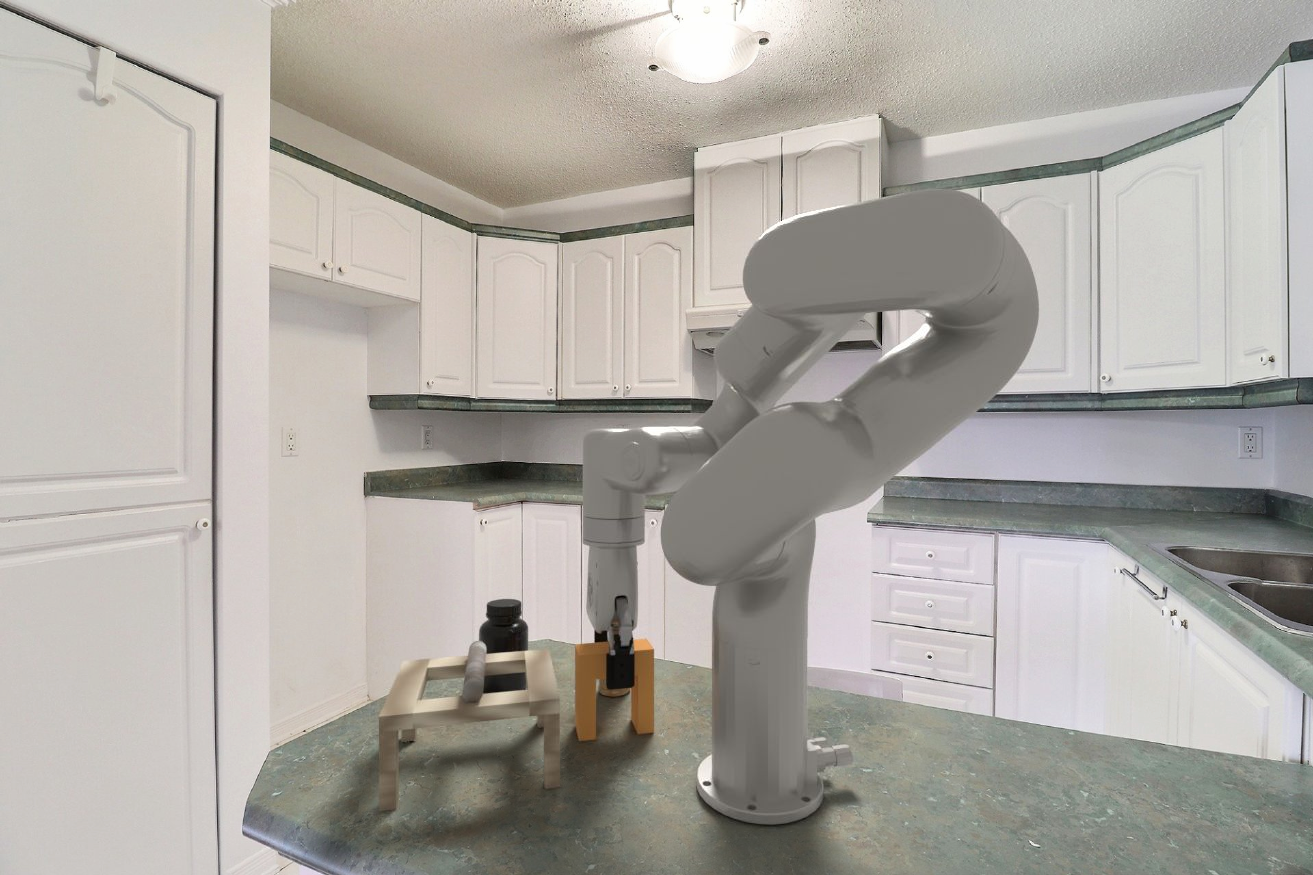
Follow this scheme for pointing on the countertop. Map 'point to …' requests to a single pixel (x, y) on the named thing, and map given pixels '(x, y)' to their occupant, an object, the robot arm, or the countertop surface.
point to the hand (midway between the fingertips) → (613, 671)
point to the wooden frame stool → (467, 706)
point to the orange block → (594, 667)
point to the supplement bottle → (504, 642)
